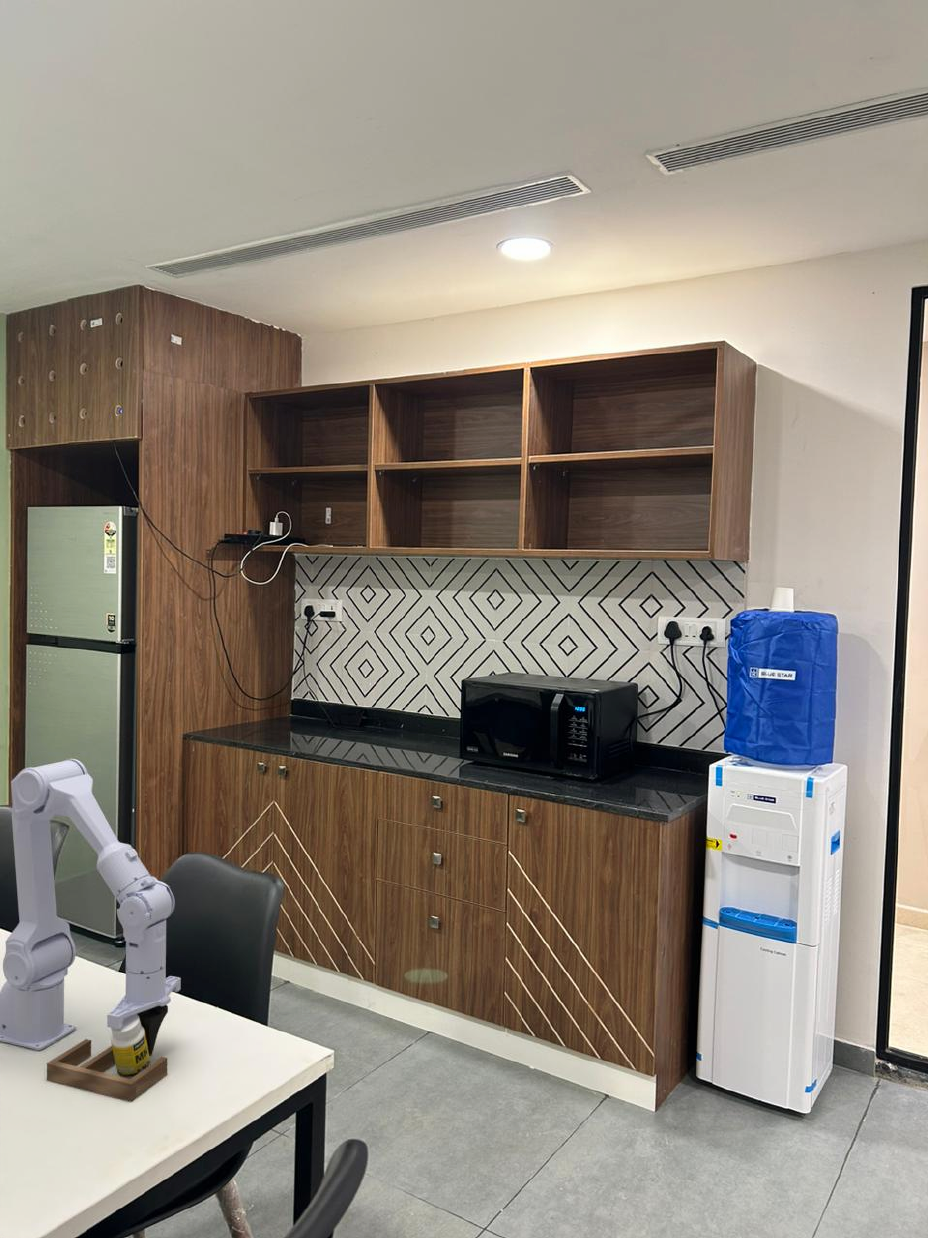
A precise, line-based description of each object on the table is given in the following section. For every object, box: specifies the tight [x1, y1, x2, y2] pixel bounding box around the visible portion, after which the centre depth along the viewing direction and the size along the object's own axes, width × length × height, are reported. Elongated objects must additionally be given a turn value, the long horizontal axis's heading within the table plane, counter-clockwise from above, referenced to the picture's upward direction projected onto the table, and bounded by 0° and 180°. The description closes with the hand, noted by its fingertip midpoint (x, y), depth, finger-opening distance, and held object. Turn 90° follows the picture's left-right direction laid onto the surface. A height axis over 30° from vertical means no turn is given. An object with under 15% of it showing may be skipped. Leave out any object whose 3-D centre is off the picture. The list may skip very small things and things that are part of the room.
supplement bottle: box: [110, 1014, 151, 1079], centre depth 141 cm, size 5×5×8 cm
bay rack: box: [46, 1038, 168, 1103], centre depth 140 cm, size 15×8×2 cm, turn 70°
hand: (144, 1055), depth 144 cm, fingers closed
